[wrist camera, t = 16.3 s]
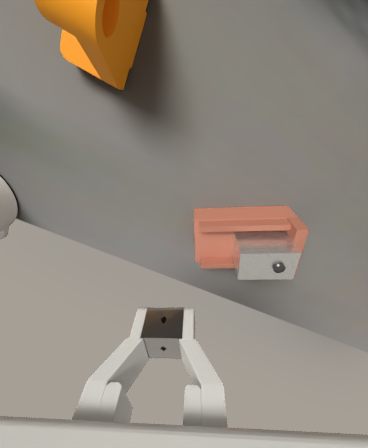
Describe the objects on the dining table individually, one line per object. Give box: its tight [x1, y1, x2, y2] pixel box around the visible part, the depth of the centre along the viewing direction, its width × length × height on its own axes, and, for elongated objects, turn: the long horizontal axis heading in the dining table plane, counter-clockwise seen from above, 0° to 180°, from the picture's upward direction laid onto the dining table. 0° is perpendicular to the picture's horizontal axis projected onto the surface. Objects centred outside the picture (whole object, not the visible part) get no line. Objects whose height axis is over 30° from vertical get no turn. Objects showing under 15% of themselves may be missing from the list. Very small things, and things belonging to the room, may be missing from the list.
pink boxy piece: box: [194, 206, 309, 276], centre depth 34 cm, size 16×9×8 cm, turn 94°
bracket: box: [35, 0, 149, 90], centre depth 18 cm, size 11×7×12 cm, turn 153°
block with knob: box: [232, 230, 301, 280], centre depth 31 cm, size 8×5×6 cm, turn 94°
